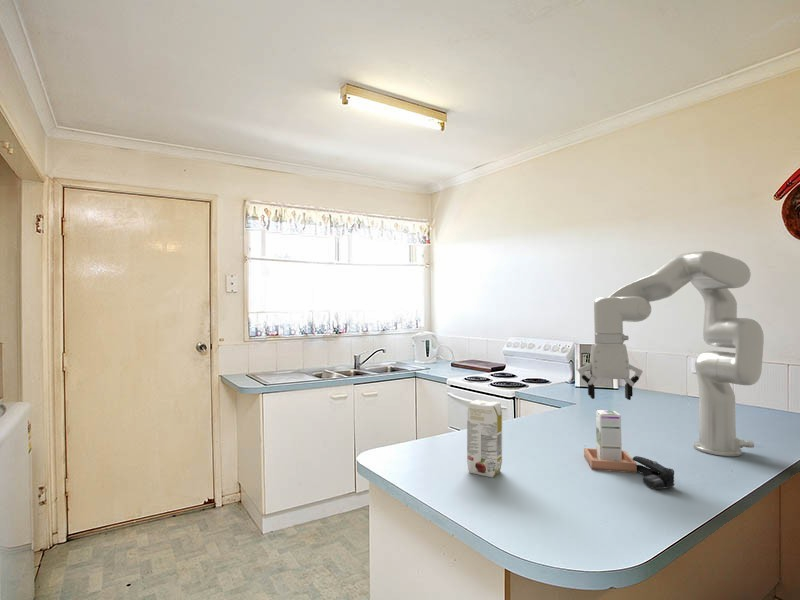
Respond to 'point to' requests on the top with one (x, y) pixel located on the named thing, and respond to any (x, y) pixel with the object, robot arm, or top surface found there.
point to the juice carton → (484, 438)
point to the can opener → (655, 473)
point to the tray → (610, 462)
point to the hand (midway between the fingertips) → (610, 398)
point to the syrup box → (608, 435)
